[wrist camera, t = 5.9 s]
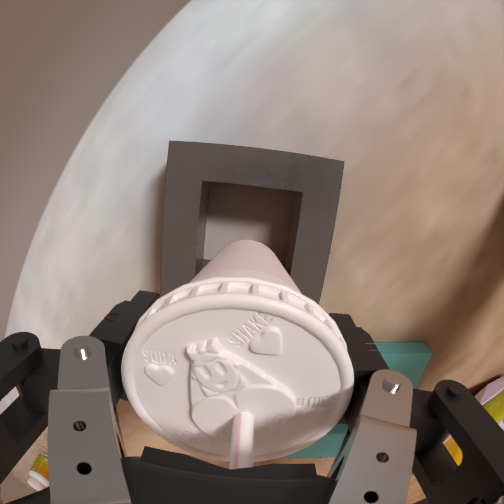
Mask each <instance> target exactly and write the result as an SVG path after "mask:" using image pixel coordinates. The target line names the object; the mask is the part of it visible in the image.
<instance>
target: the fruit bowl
mask: <svg viewBox="0 0 504 504" xmlns="http://www.w3.org/2000/svg"><path fill="white" fill-rule="evenodd" d="M474 397H475V398H476V399H477V400H478V401H479V402H480V404H481V405H482V406H483V407H484V408H485V409H486V410H487V412H488V413H489V414H490V415H491V416H492V417H493V419H494V420H495V421H496V422H497V423H498V424H499V426H500V427H501V428H502V429H503V430H504V376H502V377H501V378H499V379H497V380H495V381H493V382H491V383H489V384H488V385H487V386H486V387H484V388H483V389H482V390H481V391H480V392H479V393H477V394H476V395H475V396H474ZM443 444H444V445H445V447H446V448H447V450H448V451H449V453H450V454H451V456H452V457H453V459H454V460H455V462H456V463H457V465H458V466H459V465H460V464H461V461H462V451H461V449H460V448H459V446H458V445H457V444H456V442H455V441H454V439H453V438H452V436H451V435H450V434H449V435H448V437H447V438H446V439H445V441H444V442H443Z"/></svg>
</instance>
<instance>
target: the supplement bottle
mask: <svg viewBox="0 0 504 504" xmlns="http://www.w3.org/2000/svg"><path fill="white" fill-rule="evenodd" d="M29 475H30V476H31V477H30V478H29V479H28V481H27V482H28V484H29V485H30V486H32V487H33V488H34V489H36V490H38V491H40V490H43V489H44V486H48V485H49V470H48V454H46V453H43V452H41V453H40V454H39V455H38V457H37V458H36V460H35V462H34V464H33V465H32V467H31V469H30V471H29Z"/></svg>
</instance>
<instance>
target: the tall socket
mask: <svg viewBox="0 0 504 504" xmlns="http://www.w3.org/2000/svg"><path fill="white" fill-rule="evenodd" d="M343 169H344V161H339V160H334V159H328V158H323V157H317V156H311V155H305V154H298V153H291V152H285V151H277V150H270V149H262V148H253V147H244V146H235V145H224V144H213V143H199V142H184V141H169V149H168V158H167V169H166V181H165V194H164V209H163V228H162V255H161V297H162V296H164V295H166V294H168V293H169V292H171V291H173V290H175V289H177V288H179V287H180V286H182V285H184V284H188V283H189V282H190V281H191V280H192V279H193V278H194V277H195V276H196V275H197V274H198V273H199V272H200V271H201V270H202V269H203V268H204V267H205V266H206V265H207V264H208V263H209V262H210V261H211V260H205V259H203V253H204V240H205V228H206V216H207V205H208V195H209V184H210V181H213V182H223V183H233V184H242V185H251V186H259V187H267V188H275V189H283V190H290V191H295V196H294V203H293V210H292V217H291V224H290V231H289V237H288V244H287V250H286V257H285V263H284V268H285V270H286V271H287V273H288V274H289V276H290V277H291V279H292V280H293V282H294V283H295V285H296V286H297V287H298V289H299V290H300V292H301V293H302V295H304V296H306V297H308V298H310V299H311V300H313V301H315V302H316V303H317V304H318V305H319V301H320V297H321V292H322V288H323V283H324V278H325V273H326V269H327V264H328V258H329V253H330V248H331V243H332V237H333V232H334V226H335V220H336V214H337V208H338V202H339V196H340V189H341V183H342V176H343Z"/></svg>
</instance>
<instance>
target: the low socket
mask: <svg viewBox="0 0 504 504" xmlns="http://www.w3.org/2000/svg"><path fill="white" fill-rule="evenodd" d="M374 344H375V345H376V346H377V348H378V351H379V352H380V353H381V355H382V357H383V359H384V360H385V362H386V364H387V366H388V367H389V369H390V370H394V371H397V372H400V373H402V374H403V375H405V376H406V377H407V378H408V379H409V380H410V381H411V383H412V385H413V389H416V388H417V386H418V384H419V382H420V380H421V378H422V376H423V374H424V371H425V369H426V367H427V365H428V363H429V361H430V358H431V356H432V354H433V352H432V351H431V349H430V348H429V347H428V346H427V345H426V343H425V342H374ZM347 429H348V426H347V424H336V425H335V426H334V427H333V428H332V429H331V430H330V431H329V432H328V433H327V434H326V435H325V436H323V437H322V438H321V439H319V440H318V441H316V442H315V443H313V444H312V445H310V446H308V447H306V448H304V449H302V450H300V451H298V452H295V453H293V454H290V455H287V456H284V457H280V458H323V457H336V455H337V452H338V450H339V447H340V445H341V443H342V440H343V437H344V435H345V433H346V431H347Z"/></svg>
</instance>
